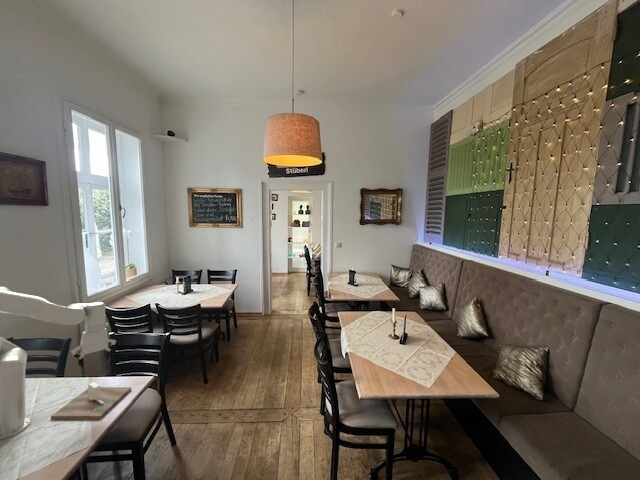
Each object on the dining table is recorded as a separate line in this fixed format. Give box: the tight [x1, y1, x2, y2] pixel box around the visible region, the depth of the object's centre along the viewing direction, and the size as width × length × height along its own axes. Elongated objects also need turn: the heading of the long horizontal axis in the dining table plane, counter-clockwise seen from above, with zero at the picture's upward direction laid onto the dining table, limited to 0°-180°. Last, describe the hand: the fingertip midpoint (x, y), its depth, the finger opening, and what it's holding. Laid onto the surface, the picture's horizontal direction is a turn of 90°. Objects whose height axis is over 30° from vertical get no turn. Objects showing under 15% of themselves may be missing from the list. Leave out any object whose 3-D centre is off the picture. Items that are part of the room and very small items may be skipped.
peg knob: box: [87, 381, 104, 404], centre depth 131 cm, size 12×3×7 cm, turn 62°
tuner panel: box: [50, 386, 132, 420], centre depth 131 cm, size 22×21×2 cm
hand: (94, 362), depth 132 cm, fingers open, 9 cm apart
